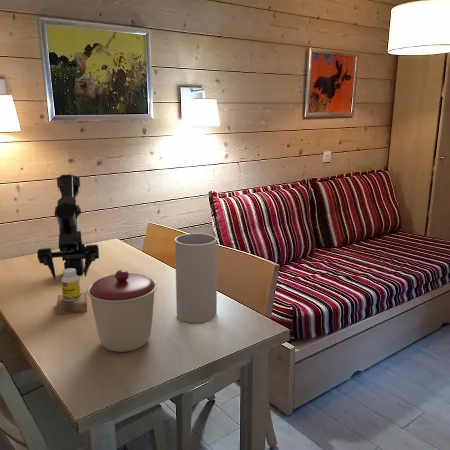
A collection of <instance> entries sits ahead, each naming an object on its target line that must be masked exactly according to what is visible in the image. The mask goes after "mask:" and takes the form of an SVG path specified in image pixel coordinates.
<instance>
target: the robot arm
mask: <svg viewBox="0 0 450 450" xmlns="http://www.w3.org/2000/svg"><path fill="white" fill-rule="evenodd" d="M56 184H57V189H59V193H60V194H61V198H59V199H58V200H57V203H56V204H57V206H55V208H54V217H55V218H56V219H57V224H58V229H59V231H58V233H59V234H58V250H59V251H56V250H55V251H52V248H51V247H45V248H39V249H38V250H37V252H36V253H37V254H36V255H37V260H38V261H39V262H38V263H40V264H41V265H43V266H47V267H48V269H49V271H50V272H51V276H52V278H53V280H56V272H55V263H54V260H53V259H54V258H62V259H61V260H62V262H63V261H64V262H63V266H64V269H67V268H75V269H76V275H78V276H83V275H84V276H83V277H84V278H85V277H87V274H88V272H89V269H90V266H91V265H92V263H93V262H96V260H97V259H99V258H100V253H99V252H100V251H99V250H100V249H99V245H98V244H86V245H85V243H83V240H82V239H83V238H82V230H80V231H79V230H78V221H77V219H78V218H79V217H78V216H80V215H81V214H82V209H81V207H80V205H78V203H77V199H76V198H77V197H78V195H79V193H80V190H79V188H81V178H80V176H77V175H74V174H71V173H70V174H61V175H59V176H58V177H56ZM64 269H63V270H64Z"/></svg>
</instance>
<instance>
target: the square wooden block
mask: <svg viewBox="0 0 450 450" xmlns="http://www.w3.org/2000/svg"><path fill="white" fill-rule="evenodd" d="M55 305H56V306H55V308H56V316H63V315H71V314H72V313H73V314H82V313H88V293H87V291H86V292H85V291H84V292H80V298H79V299H78V300H76V301H65V300H63V294H59V295H57V299H56V304H55Z"/></svg>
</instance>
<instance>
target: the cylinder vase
mask: <svg viewBox="0 0 450 450" xmlns="http://www.w3.org/2000/svg"><path fill="white" fill-rule="evenodd" d="M217 241H218V239H217V236H214V235H212V234H207V233H196V232H195V233H187V234H186V233H184V234H181V235H178V236H177V237H175V238H174V253H175V255H174V257H175V261H174V262H175V292H176V293H175V295H176V296H175V298H176V299H175V300H176V302H175V303H176V315H177V316H176V317H177V318H178V319H179V320H180V321H182V322H184V323H188V324H203V323H208V322H211V321H212V320H213V319H215V318H216V316H217V309H218V307H217V305H218V304H217V303H218V302H217V301H218V300H217V297H218V296H217V295H218V292H217V291H218V290H217V289H218V286H217V285H218V284H217V283H218V282H217V279H218V275H217V274H218V273H217V271H218V269H217V267H218V265H217V264H218V263H217V262H218V257H217V253H218V252H217V250H218V248H217V244H218V243H217Z"/></svg>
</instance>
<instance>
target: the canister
mask: <svg viewBox="0 0 450 450" xmlns="http://www.w3.org/2000/svg"><path fill="white" fill-rule="evenodd" d="M157 288H158V284H157V282H156V281H155V280H154V279H153V278H151V277H148V276H146V275H144V274H141V273H134V272H133V273H131V272H130V273H129V272H128V271H127V270H125V269H119V270H117V271H116V272H115V273H114V274H111V275H107V276H104V277H101V278H100V279H97V280H96V281H94V282H93V283H91V284H89V286H88V287H87V291H86V292H87V296H88V297H89V298H90V301H91V305H92V306H91V307H92V312H93V316H94V321H95V326H96V330H97V334H98V339H99V340H100V344H101V345H102V346H103V347H104V348H105V349H107V350H109V351H110V352H111V351H112V352H117V353H118V352H119V353H126V352H127V353H128V352H132V351H136V350H138V349H140V348H142V347H143V346H144V345H146V344H147V343H148V341H149V339H150V336H151V333H152V325H153V315H154V304H155V303H154V302H155V291H157Z"/></svg>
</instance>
